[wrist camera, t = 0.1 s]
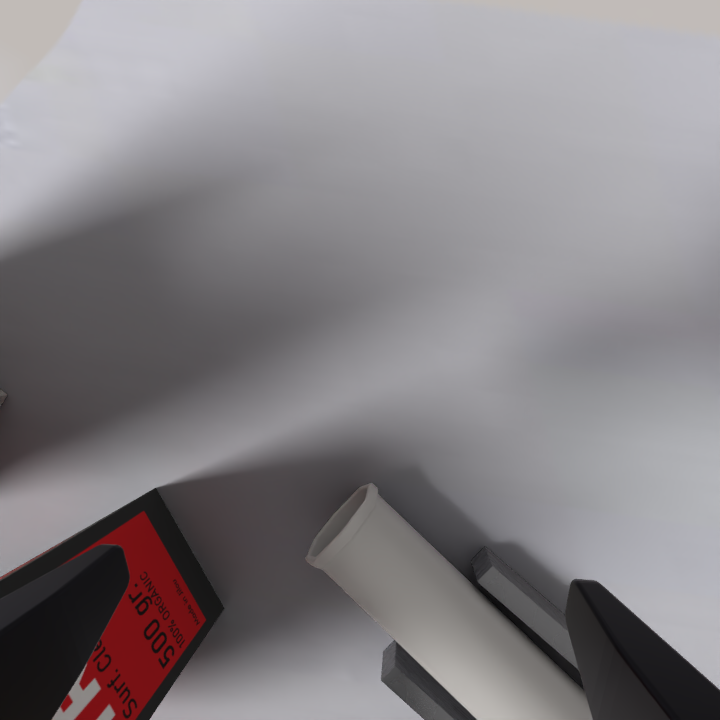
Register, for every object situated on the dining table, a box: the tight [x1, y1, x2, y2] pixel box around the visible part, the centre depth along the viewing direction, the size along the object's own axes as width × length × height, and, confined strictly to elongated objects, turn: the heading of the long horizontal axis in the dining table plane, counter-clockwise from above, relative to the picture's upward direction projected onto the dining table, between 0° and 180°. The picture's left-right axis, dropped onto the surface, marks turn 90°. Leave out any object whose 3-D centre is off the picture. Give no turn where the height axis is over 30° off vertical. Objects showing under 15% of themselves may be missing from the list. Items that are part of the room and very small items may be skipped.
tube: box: [305, 483, 593, 720], centre depth 21 cm, size 5×5×25 cm
